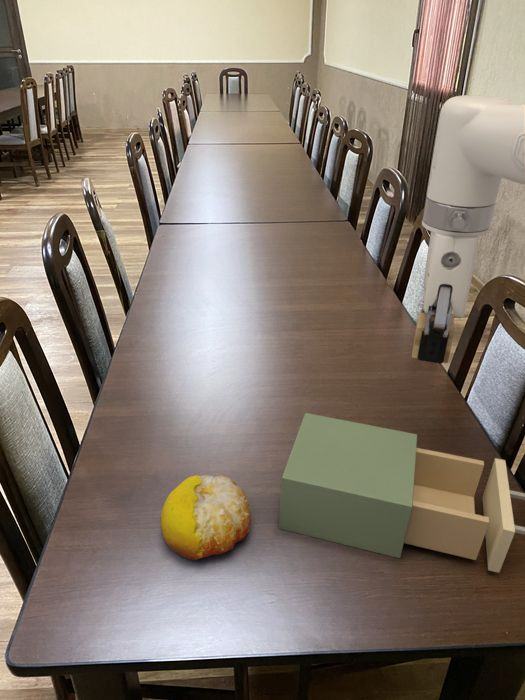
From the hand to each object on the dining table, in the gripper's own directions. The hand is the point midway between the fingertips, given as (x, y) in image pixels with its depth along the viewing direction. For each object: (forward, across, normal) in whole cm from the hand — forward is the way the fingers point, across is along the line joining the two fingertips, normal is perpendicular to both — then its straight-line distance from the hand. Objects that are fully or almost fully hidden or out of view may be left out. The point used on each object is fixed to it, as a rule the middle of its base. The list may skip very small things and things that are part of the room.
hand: (430, 349), depth 71 cm
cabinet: (+16, -14, +8) cm, 23 cm away
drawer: (+16, -14, -7) cm, 22 cm away
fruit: (+16, -24, +23) cm, 37 cm away
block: (0, 0, 0) cm, 0 cm away
